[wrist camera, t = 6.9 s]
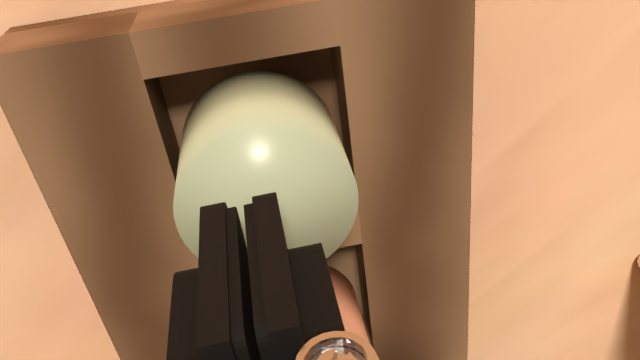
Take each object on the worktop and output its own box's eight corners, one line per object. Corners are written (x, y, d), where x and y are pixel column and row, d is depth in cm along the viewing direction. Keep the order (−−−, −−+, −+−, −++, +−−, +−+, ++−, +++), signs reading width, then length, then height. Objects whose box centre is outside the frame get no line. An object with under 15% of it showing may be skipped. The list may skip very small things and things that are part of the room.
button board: (443, -45, 17) (475, -26, 15) (446, 405, 29) (465, 452, 27) (10, 27, 17) (-23, 57, 14) (194, 458, 28) (192, 511, 26)
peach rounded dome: (350, 249, 20) (372, 323, 17) (361, 339, 22) (382, 417, 19) (218, 274, 19) (218, 353, 17) (245, 363, 22) (248, 445, 19)
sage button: (326, 58, 16) (349, 109, 13) (342, 192, 18) (365, 261, 15) (163, 86, 16) (149, 145, 13) (202, 218, 18) (198, 294, 15)
